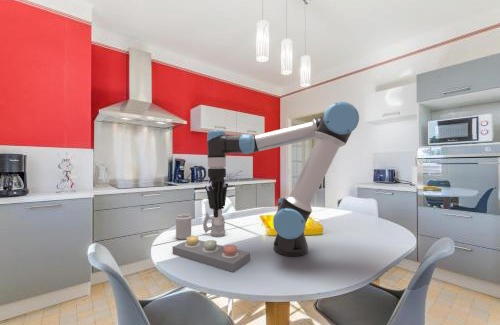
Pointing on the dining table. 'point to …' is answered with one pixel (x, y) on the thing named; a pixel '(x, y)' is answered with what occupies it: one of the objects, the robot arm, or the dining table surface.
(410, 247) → the dining table surface
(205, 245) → the button sage
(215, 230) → the mug
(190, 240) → the button ochre
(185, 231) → the can
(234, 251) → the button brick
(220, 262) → the console
